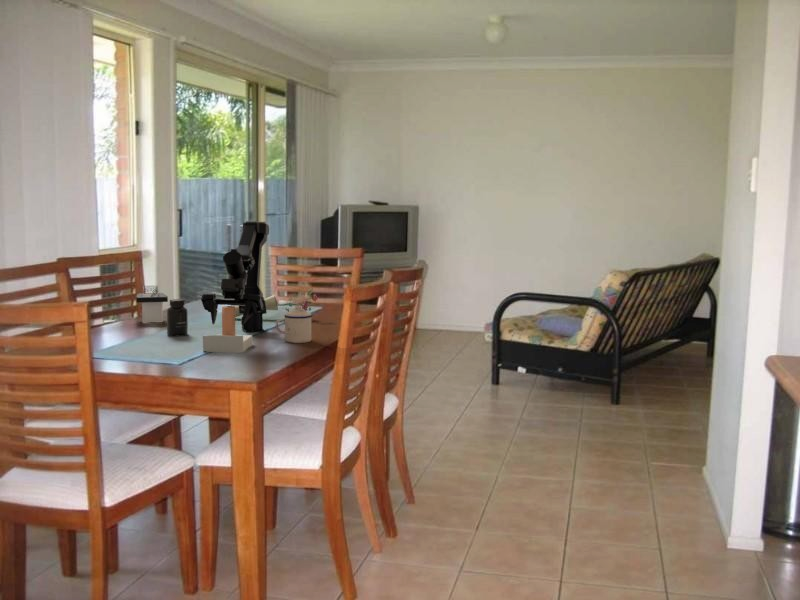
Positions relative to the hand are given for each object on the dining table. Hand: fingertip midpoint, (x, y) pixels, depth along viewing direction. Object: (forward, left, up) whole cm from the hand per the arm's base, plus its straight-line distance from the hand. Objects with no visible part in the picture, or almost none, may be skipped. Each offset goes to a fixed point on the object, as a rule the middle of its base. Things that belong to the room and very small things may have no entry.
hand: (227, 324), depth 252 cm
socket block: (-1, -1, -8) cm, 8 cm away
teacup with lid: (-23, -6, -8) cm, 25 cm away
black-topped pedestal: (+15, -63, -8) cm, 65 cm away
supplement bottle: (+11, -30, -8) cm, 33 cm away
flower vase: (-28, -53, -8) cm, 61 cm away
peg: (-1, -1, -8) cm, 8 cm away
